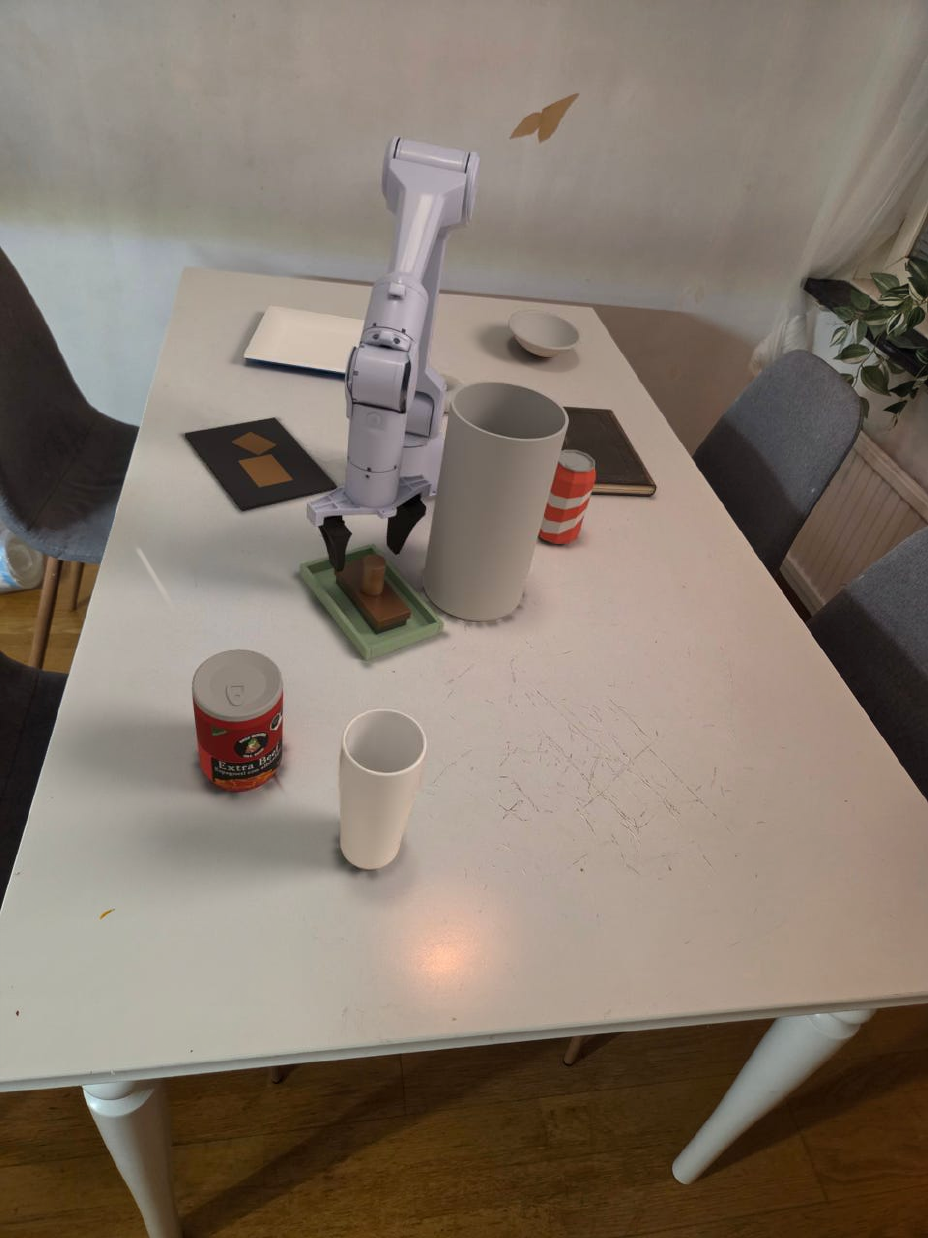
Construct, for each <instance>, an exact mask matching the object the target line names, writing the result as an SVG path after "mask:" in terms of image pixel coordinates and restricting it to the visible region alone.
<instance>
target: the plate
mask: <svg viewBox="0 0 928 1238" xmlns="http://www.w3.org/2000/svg"><path fill="white" fill-rule="evenodd" d="M364 322H365V319H358V318H352V317H346V316H339V315H333V314H327V313H320V312H314V311H309V310H301V309H295V308H289V307H283V306H277V305H268V306H267V308H266V310H265V312H264V314H263V316H262V318H261V320H260V321H259V324H258V326H257V328H256V330H255V332H254V334H253V335H252V338H251V340H250V341H249V343H248V345H247V347H246V349H245V351H244V353H243V355H242V357H243V358H244V359H246V360H250V361H255V362H263V363H269V364H276V365H281V366H289V367H294V368H302V369H309V370H315V371H321V372H327V373H334V374H341V375H345V373H346V366H347V361H348V357H349V354H350V351H351V349H352V347H353V346H356V348H357V347H359V343H360V339H361V335H362V330H363V326H364Z"/></svg>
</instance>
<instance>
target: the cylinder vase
mask: <svg viewBox="0 0 928 1238" xmlns="http://www.w3.org/2000/svg"><path fill="white" fill-rule="evenodd" d="M463 385H464V384H463ZM563 407H564V406H563ZM563 407H562V404H560V403H559V402H558V401H557V400H555V399H554V398H552V397H551V396H550V395H548V394H545V392H542V391H539V390H537V389H535V388H532V387H529V386H526V385H523V384H518V383H514V382H508V381H500V380H499V381H498V380H484V381H483V380H481V381H475V382H471V383H467V384H465V385H464V386H462V387H460V388H459V389H457V390H456V391H455V392H454V393H453V395H452V397H451V403H450V409H449V412H448V416H447V422H446V429H445V435H444V447H443V454H442V460H441V466H440V473H439V479H438V485H437V492H436V495H435V499H434V505H433V511H432V518H431V524H430V529H429V530H430V531H429V538H428V544H427V548H426V549H427V550H426V556H425V562H424V570H423V575H422V585H423V590H424V592H425V594H426V596H427V597H428V598H429V600H430V601H431V602H432V604H434V605H435V606H436V607H437V608H438V609H440V610H441V611H443V612H444V613H446V614H448V615H450V616H453V617H455V618H458V619H462V620H466V621H472V622H488V621H489V622H490V621H495V620H499V619H502V618H504V617H506V616H508V615H509V614H511V613H512V612H513V611H514V610H515V609H516V608H518V605H519V604H520V603H521V600H522V597H523V593H524V590H525V586H526V582H527V579H528V575H529V572H530V567H531V563H532V560H533V556H534V552H535V548H536V545H537V542H538V538H539V531H540V527H541V523H542V520H543V516H544V512H545V508H546V505H547V501H548V497H549V494H550V490H551V486H552V483H553V479H554V475H555V471H556V468H557V464H558V460H559V457H560V453H561V449H562V445H563V442H564V438H565V434H566V431H567V427H568V423H569V418H568V415H567V413H566V411H565V409H564V408H563Z"/></svg>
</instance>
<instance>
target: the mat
mask: <svg viewBox="0 0 928 1238" xmlns="http://www.w3.org/2000/svg"><path fill="white" fill-rule="evenodd" d="M184 437H185V438H186V439H187V441H188V442H189V443H190V445H191V446H192V447H193V449H194V450H195V451H196V453H197V455H199V456H200V458H201V460H203V462H204V463H205V465H206V466H207V467H208V468H209V470H210V471H211V472H212V474H213V475H214V477H215V478H216V479H217V480H218V482H219V483H220V484H221V486H222V487H223V489H225V491H226V492H227V494H228V495H229V496H230V497H231V499H232V500H233V502H234V503H235V504H236V505H237V507H238V508H239V510H240V511H241V512H243V511H247V510H252V509H256V508H260V507H265V506H269V505H273V504H277V503H282V502H286V501H291V500H294V499H299V498H303V497H307V496H313V495H316V494H320V493H324V492H330V491H333V490H335V489H337V488H338V485H337V484H336V483H335V482H334V481H333V480H332V479H331V477H329V476H328V474H327V472H325V471H324V470H323V468H322V467H320V465H319V464H318V463H317V462H316V461H315V460H314V458H312V457H311V456H310V454H309V453H308V452H307V451H306V450H305V448H304V447H302V446H301V444H300V443H299V442H298V441H297V440H296V439H295V438H294V437H293V436H292V435H291V434H290V432H288V430H287V429H286V428H285V427H284V426H283V424H281V423H280V421H279V420H278V419H277V418H276V417H269V418H264V419H263V418H262V419H257V420H252V421H245V422H241V423H235V424H234V423H233V424H229V425H223V426H222V425H221V426H217V427H211V428H206V429H199V430H195V431H188V432H184Z"/></svg>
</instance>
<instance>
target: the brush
mask: <svg viewBox="0 0 928 1238" xmlns="http://www.w3.org/2000/svg"><path fill="white" fill-rule="evenodd" d="M385 568H386V560H385V559H384V558H383V557H382V556H379V555H375V554H372V555H368V556H366V557H365V558H363V559H359V560H355V561H352V562H348V563H345V566H344V569H343V571H341V572H337V571H336V570H335V569H334V575H335V576H336V583H337V585H338V586H339V587H340V589H341V590H342V591H343V592H344V594H345V595H346V596H347V598H348V599H349V600H350V601H351V603H352V604H353V605H354V607H355V608H356V609H357V610H358V612H359V613H360V614H361V616H362V617H363V618H364V619H365V621H366V622H367V623H368V625H369V626H370V627H371V628H372V630H373V631H374V632H375V634H376V635H377V634H380V633H383V632H386V631H389V630H392V629H395V628H398V627H401V626H404V625H406V622H407V619H409V618H410V615H411V610H410V609H409V608H408V607H407V605H406V604H405V603H404V602H403V601H402V599H401V598H400V597H399V596H398V595H397V593H396V592H395V591H394V590H393V589H392V588H391V586H390V585H389V584H388V583H387V582H386V580H385V579H384V576H385Z"/></svg>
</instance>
